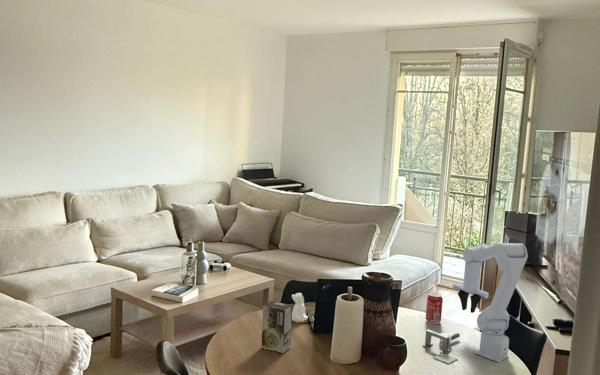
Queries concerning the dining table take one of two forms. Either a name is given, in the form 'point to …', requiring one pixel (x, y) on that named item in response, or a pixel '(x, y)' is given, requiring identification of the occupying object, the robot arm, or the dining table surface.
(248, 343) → the dining table surface
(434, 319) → the beverage can
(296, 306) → the seated beast figurine
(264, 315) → the coffee box
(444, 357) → the pad
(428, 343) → the bracket
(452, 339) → the plug
